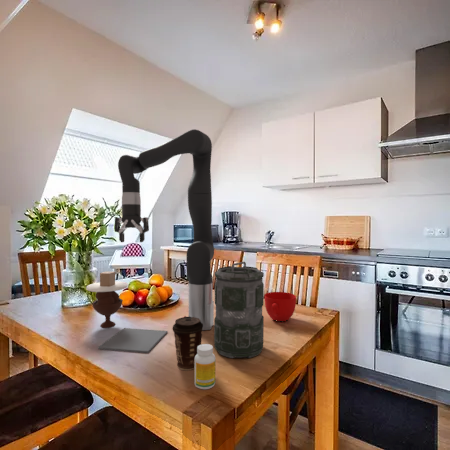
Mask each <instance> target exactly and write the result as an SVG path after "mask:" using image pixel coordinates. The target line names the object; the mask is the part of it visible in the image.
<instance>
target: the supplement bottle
mask: <svg viewBox="0 0 450 450" xmlns="http://www.w3.org/2000/svg"><path fill="white" fill-rule="evenodd" d="M213 352H214V346H213V345H212V344H209V343H201V345H199V346H198V347H197V353H198V354H196V356H195V359H194V369H193V371H194V374H193V375H194V379H193V383H194V386H195V388H197V389H200V390H209V389H211V388H213V387H214V386H215V385H216V356H215V354H214V353H213Z"/></svg>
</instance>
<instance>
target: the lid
mask: <svg viewBox="0 0 450 450" xmlns="http://www.w3.org/2000/svg"><path fill="white" fill-rule="evenodd" d="M128 287H129V283H127V282H125V281H118V280H116V271H108V270H107V271H103V272H100V273H99V282H98V281H97V282H93V283H91V284H88V285H86V290H87V291H88V292H93V293H97V292H110V291H115V292H116V291H120V290H125V289H127V288H128Z"/></svg>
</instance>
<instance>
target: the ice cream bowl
mask: <svg viewBox="0 0 450 450" xmlns="http://www.w3.org/2000/svg"><path fill="white" fill-rule="evenodd" d="M95 298H96V300H94V301H92V303H91V304H92V307H93V310H94V311H95V312H97V313H98V315H99V314H100V315H101V316H104V317H105V320H104V321H103V322H102V323H101V324H100V327H101V328H103V329H107V328H108V329H109V328H112V327H115V326H116V323H115V322H114V321H112V320H111V316H112V315H114V314H115V313H117V311H118V310H119V309H120V308H121V306H122V304H123V301H124V300H123V299H121V298H120V294H119V293H118V292H116V291H110V292H95Z"/></svg>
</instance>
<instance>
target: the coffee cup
mask: <svg viewBox="0 0 450 450" xmlns="http://www.w3.org/2000/svg"><path fill="white" fill-rule="evenodd" d="M202 328H203V324H202V323H201V320H200V319H199V318H197V317H190V316H189V315H188V316H182V317H180V318H177V319H175V323H174V324H173V325H172V328H171V330H172V331H173V337H174V345H175V346H174V347H175V354H176V355H175V356H176V361H177V363H176V366H177V368H178V369H179V370H181V371H191V370H194V359H195V356H196V354H198V353H197V347H198V346H199V345H201V344H202V337H203V334H202V333H203V330H202Z"/></svg>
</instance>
